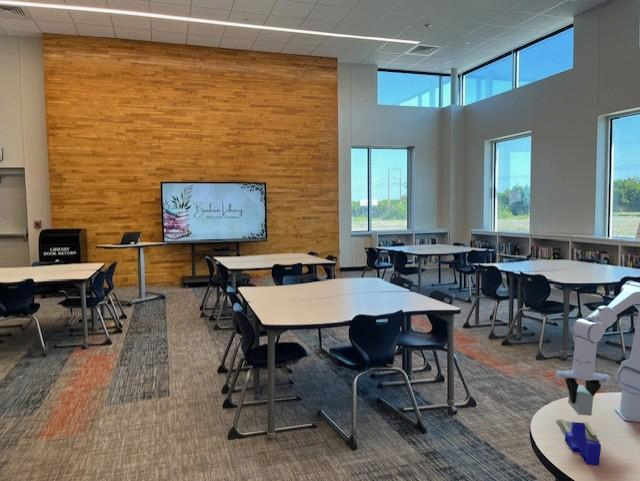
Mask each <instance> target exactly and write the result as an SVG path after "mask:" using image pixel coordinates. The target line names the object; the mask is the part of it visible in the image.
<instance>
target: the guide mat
mask: <svg viewBox="0 0 640 481" xmlns="http://www.w3.org/2000/svg"><path fill="white" fill-rule="evenodd" d="M555 421H556V423H557V425H558V426H559V428H560V430H561V432H562V434H563V435H564V436H565V434H566V433H565V431H564V430H563V428H562V426H561V425H560V423H559V419H558V420H555ZM564 421H565V423H566V424H567V426H568V428H569V429H570V431H571V429H572V422H573V421H566V420H564ZM585 434H586V440H587V441H592V442H599V443H600V440H599V438H598V437H596V439H595V438H591V436H590V435H589V433H588V432H587V430H586V429H585Z"/></svg>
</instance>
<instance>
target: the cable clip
mask: <svg viewBox="0 0 640 481" xmlns="http://www.w3.org/2000/svg"><path fill="white" fill-rule="evenodd" d="M571 422H572V429H571V432H569V431H566V434H565V435H564V441H565V442H567V443H566V444H567V446H568V447H569V449H570V450H571V451H572V452H574V453H578V455H579V456H580V457H581V459H583V460H582V461H584V463H585V464H586V465H587V466H589V465H590V466H597V467H599V466H600V461H601V460H600V459H601V450H602V449H601V448H602V444H601V443H600V441H599V442H598V441H590V440H586V434H585V424H584V423H583V422H578V421H571Z"/></svg>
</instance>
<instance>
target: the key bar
mask: <svg viewBox="0 0 640 481" xmlns="http://www.w3.org/2000/svg"><path fill="white" fill-rule="evenodd" d="M578 385H579V386H578V389H577V393H576V402H575V404H573V403H572V402H571V401H570V394H569V393H568V400H567V401H568V405H569V406H571V408H572V409H573V410H574V411H575V412H576V414H577V416H579V415H580V416H592V414H593V404H594V397H593V395H592V394H591V393H590V392H589V391H588V390H587V389H586V386H584V385H582V384H578Z"/></svg>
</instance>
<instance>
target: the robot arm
mask: <svg viewBox="0 0 640 481" xmlns="http://www.w3.org/2000/svg"><path fill="white" fill-rule="evenodd" d="M631 306H634V307H635V309H637V311H638V315H637V321H636V324H635V325H636V326H635V332H634V335H633V340H632V341H633V342H632V345H631V351H630V355H629V358H628V359H625V360H622V361H621V362H620V366H619V367H618V368H619V369H618V370H617V372H616V380H617V382H618V383H619V387H620V388H621V394H620V395H621V396H620V403H619V404H620V405H619V407H614V410H615V411H616V413H618V415H619V416H620V418H622V420H624V421H628V422H634V423H635V422H637V423H640V282H638V281H634V280H628V281H626V282H625V283H624V284H623V285H622V286H621V288H620V293H619V294H618V295H616V297H615V298H614V299H613V300H612V301H611V302H609V304H608V305H600V306H598V307H597V309H595V310H594V311H592V312H591V313H590V314H589V315H588V316H586V317H585V318H579V319H577V320H575V321H574V322H573V324H572V327H570V330H571V334H572V337H573V339H572V340H573V342H574V347H573V348H574V349H573V359H572V360H573V361H572V369H570V370H569V369H568V370H556V371H555V377H556V378H557V380H562V379H563V380H564V382H565V384H566V386H567V389H568V395H569V394H570V401H571V402H572V403H573V404H575V402H576V393H577V389H578V386H579V385H580V384H578V383H577V381H585V388H586V389H587V390H588V391H589V392H590V393H591V394H592V395H593V398H594V396H596V394H597V393H598V391H599V390H600V389H601V388H602V387H601V386H602V384H601V383H602V382H603V383H606V384H610V383H611V382H610V381H611V377H610V375H608V374H604V373H598V372H595V369H596V368H595V367H596V356H597V348H598V346H597V345H598V342H600V341H601V340H602V338H603V335H604V334H605V332H606V330H607V328H609V327H610V326H611V325H613V324H614V323H615V322H616V321H617V319H618V314H620V313H622V312H624V311H625V310H626V309H628V308H629V307H631ZM600 382H601V383H600Z"/></svg>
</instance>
